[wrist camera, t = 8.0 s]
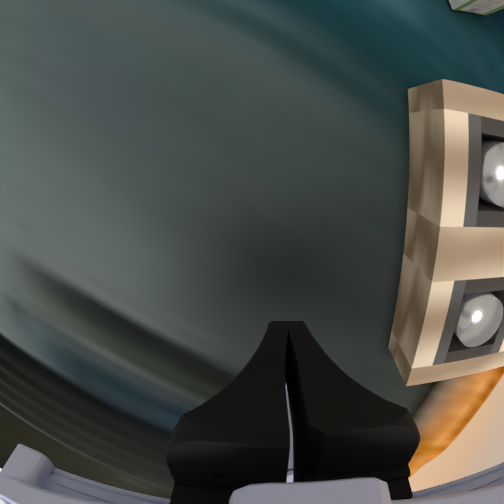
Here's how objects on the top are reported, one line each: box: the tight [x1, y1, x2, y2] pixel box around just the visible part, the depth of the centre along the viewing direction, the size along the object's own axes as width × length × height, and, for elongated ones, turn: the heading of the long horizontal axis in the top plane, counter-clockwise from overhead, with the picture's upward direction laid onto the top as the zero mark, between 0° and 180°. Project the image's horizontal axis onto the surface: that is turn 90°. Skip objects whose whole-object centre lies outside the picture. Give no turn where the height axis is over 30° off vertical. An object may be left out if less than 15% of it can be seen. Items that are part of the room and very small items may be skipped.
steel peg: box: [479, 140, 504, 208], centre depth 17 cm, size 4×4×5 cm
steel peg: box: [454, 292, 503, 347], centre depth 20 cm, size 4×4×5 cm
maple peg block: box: [388, 79, 504, 386], centre depth 18 cm, size 20×10×5 cm, turn 2°
